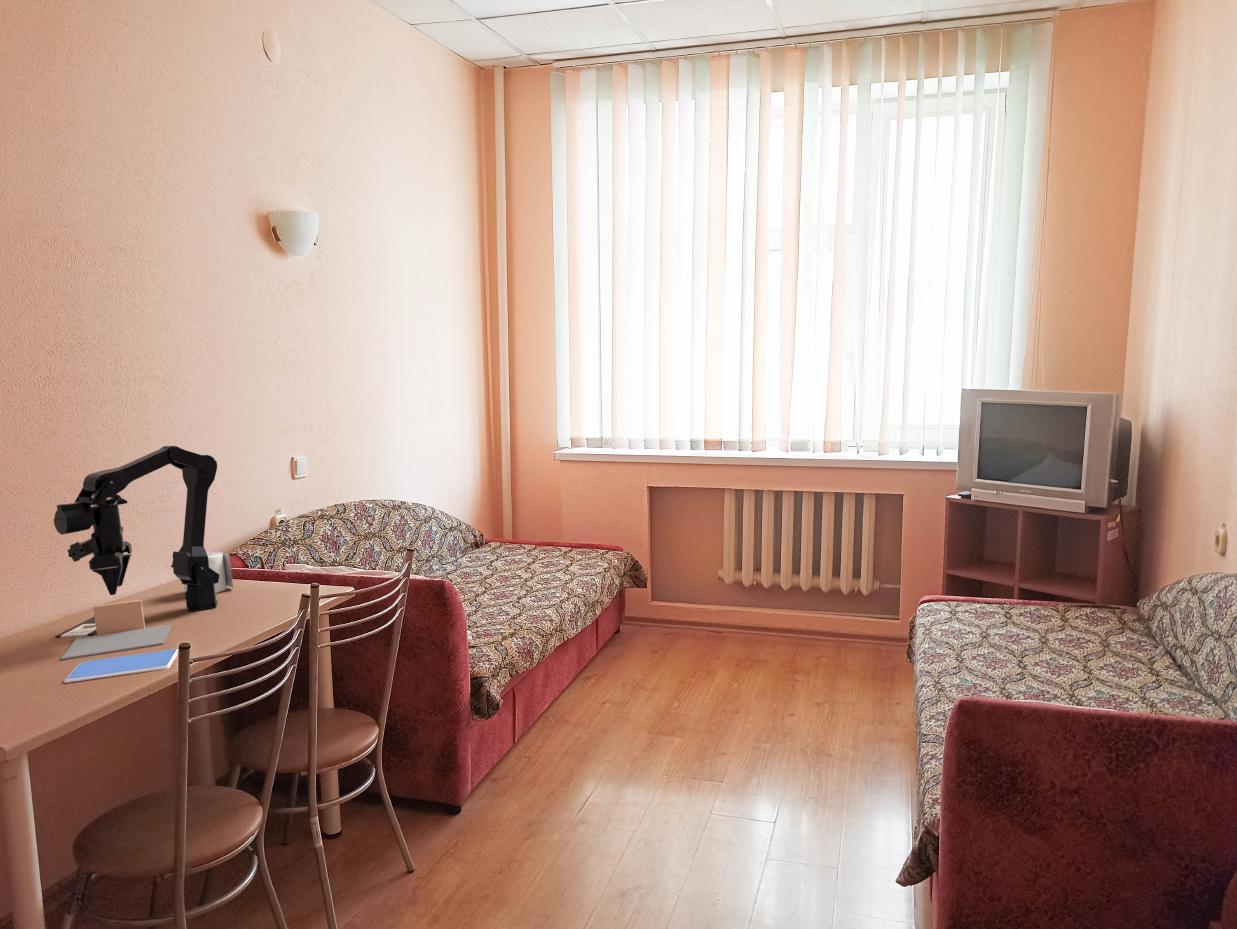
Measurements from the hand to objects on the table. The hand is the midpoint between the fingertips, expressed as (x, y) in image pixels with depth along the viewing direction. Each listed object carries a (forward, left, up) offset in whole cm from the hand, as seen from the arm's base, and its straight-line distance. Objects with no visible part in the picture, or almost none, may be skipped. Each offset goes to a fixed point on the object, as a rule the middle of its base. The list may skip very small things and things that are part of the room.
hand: (116, 590), depth 215 cm
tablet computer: (-5, +31, -11) cm, 33 cm away
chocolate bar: (+7, -10, -11) cm, 16 cm away
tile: (0, 0, -10) cm, 10 cm away
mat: (-1, +10, -10) cm, 14 cm away
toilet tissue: (-17, -32, -10) cm, 38 cm away
